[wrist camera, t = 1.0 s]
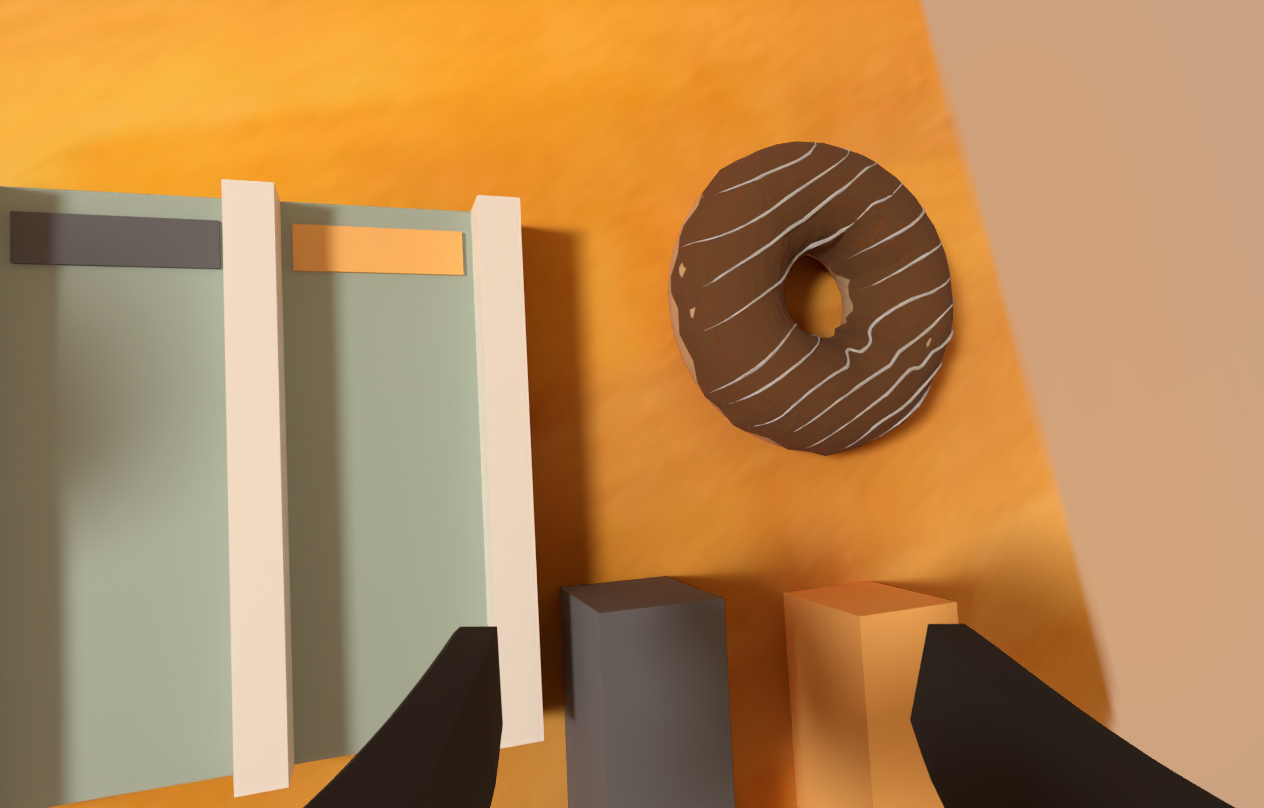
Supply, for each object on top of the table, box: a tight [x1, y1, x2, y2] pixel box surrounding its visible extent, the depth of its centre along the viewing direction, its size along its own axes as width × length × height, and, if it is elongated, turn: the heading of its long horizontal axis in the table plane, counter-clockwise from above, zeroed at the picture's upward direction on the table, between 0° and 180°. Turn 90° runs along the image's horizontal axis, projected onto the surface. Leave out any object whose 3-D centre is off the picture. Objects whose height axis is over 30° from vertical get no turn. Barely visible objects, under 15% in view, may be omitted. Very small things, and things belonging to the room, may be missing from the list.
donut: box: [668, 142, 955, 456], centre depth 25 cm, size 11×11×4 cm
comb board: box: [0, 179, 544, 808], centre depth 20 cm, size 15×14×2 cm
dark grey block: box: [560, 576, 735, 808], centre depth 22 cm, size 10×4×4 cm, turn 3°
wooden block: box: [783, 581, 959, 808], centre depth 24 cm, size 10×4×4 cm, turn 3°
